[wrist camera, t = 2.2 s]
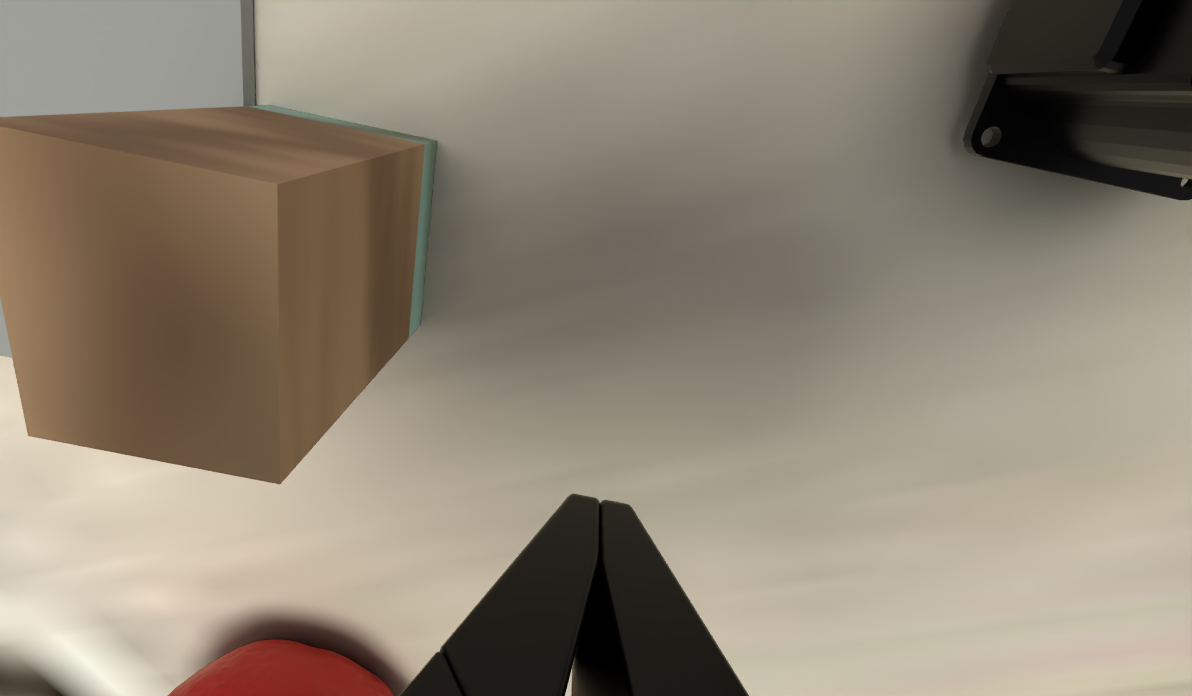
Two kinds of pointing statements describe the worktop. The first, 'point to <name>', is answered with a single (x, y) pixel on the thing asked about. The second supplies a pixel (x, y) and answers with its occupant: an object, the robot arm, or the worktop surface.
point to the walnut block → (207, 277)
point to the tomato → (282, 673)
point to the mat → (123, 59)
